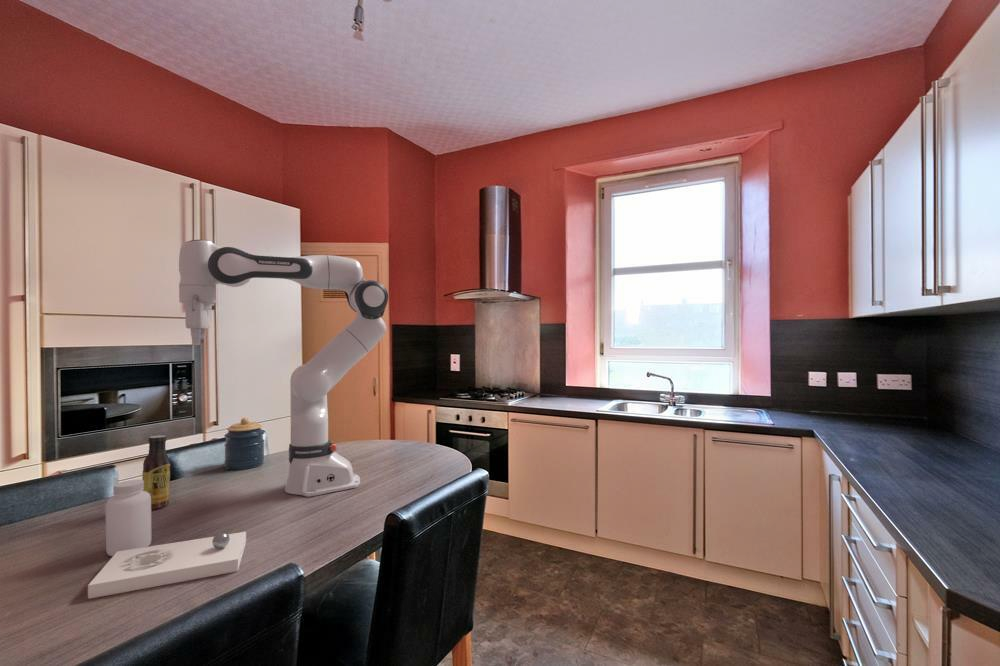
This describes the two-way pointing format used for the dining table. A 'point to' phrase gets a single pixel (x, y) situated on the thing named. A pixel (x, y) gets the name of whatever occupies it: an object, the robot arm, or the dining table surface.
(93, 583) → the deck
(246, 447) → the canister
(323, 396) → the robot arm
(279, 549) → the dining table surface
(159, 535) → the dining table surface
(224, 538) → the ball
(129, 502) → the pill bottle
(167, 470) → the sauce bottle
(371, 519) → the dining table surface
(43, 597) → the dining table surface
